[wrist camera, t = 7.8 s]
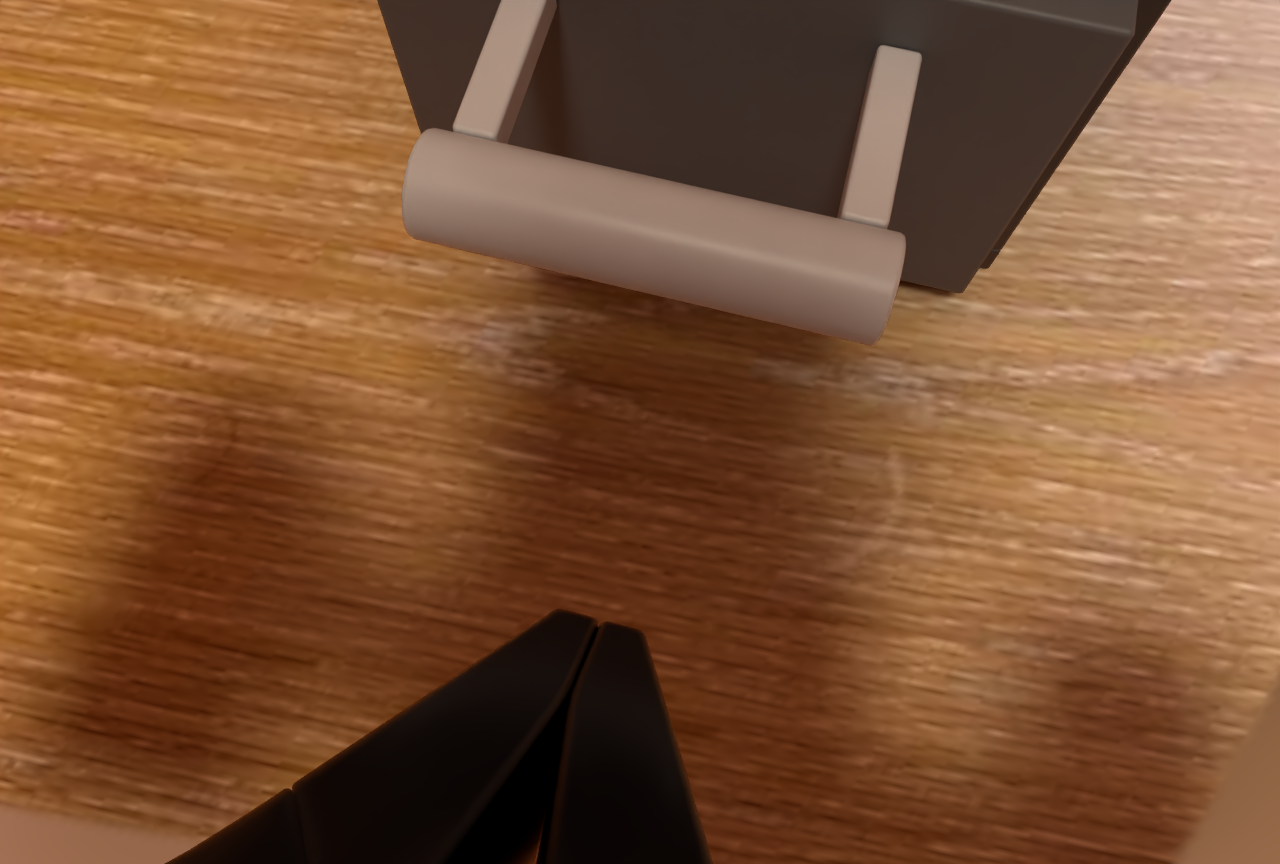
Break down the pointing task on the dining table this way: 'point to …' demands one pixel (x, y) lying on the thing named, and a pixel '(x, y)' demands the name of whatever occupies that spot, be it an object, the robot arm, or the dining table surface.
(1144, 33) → the dark brown hollow box
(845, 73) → the drawer
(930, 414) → the dining table surface
